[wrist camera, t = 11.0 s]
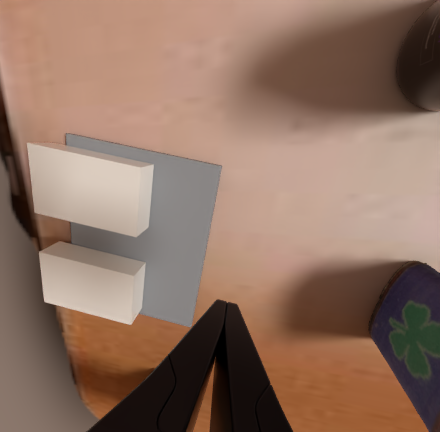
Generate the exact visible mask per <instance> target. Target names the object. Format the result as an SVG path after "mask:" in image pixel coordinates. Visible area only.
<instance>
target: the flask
mask: <svg viewBox="0 0 440 432" xmlns="http://www.w3.org/2000/svg"><path fill="white" fill-rule="evenodd" d="M369 333H370V335H371V337H372V339H373V341H374V342H375V344H376V345H377V347H378V349H379V350H380V352H381V353H382V355H383V357H384V358H385V360H386V361H387V363H388V364H389V366H390V368H391V369H392V371H393V373H394V374H395V376H396V378H397V379H398V381H399V383H400V384H401V386H402V388H403V389H404V391H405V392H406V394H407V395H408V397H409V399H410V400H411V402H412V404H413V405H414V407H415V409H416V411H417V412H418V414H419V415H420V417H421V419H422V420H423V422H424V423H425V425H426V427H427V429H428V431H429V432H440V273H439V272H437V271H436V270H435V269H433V268H432V267H431V266H429V265H427V263H422V262H419V261H410V262H408V263H407V264H405V265H403V266H402V267H401V268H400V269H399V270H398V271H397V272H396V274H394V276H393V278H392V279H391V280H390V281H389V282H388V284H387V286H385V288H384V290H383V292H382V294H381V295H380V300H379V301H378V303H377V305H376V308H375V310H374V313H373V315H372V317H371V320H370V322H369Z"/></svg>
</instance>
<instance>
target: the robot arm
mask: <svg viewBox="0 0 440 432" xmlns="http://www.w3.org/2000/svg"><path fill="white" fill-rule="evenodd" d="M215 357H216V358H215ZM214 361H215V367H214V379H213V393H212V406H211V420H210V432H293V430H292V428H291V426H290V424H289V422H288V420H287V419H286V417H285V414H284V412H283V410H282V408H281V406H280V403H279V401H278V399H277V397H276V394H275V392H274V390H273V387H272V385H270V380H269V378H268V376H267V373H266V371H265V369H264V366H263V364H262V361H261V359H260V357H259V354H258V352H257V350H256V347H255V345H254V343H253V340H252V338H251V336H250V333H249V331H248V328H247V326H246V324H245V321H244V319H243V317H242V314H241V312H240V310H239V307H238V305H237V304H235V303H231V302H228V303H227V302H226V301H223V300H219V299H218V300H216V301H215V302H214V303H213V305H212V306H211V307H210V308H209V309H208V310H207V311H206V312H205V314H204V315H203V316H202V317H201V318H200V319H199V320H198V321H197V323H196V324H195V325H194V326H193V327H192V328H191V329H190V330H189V332H188V333H187V334H186V335H185V336H184V337H183V338H182V340H181V341H180V342H179V343H178V344H177V345H176V346H175V347H174V349H173V350H172V351H171V352H170V353H169V354H168V356H166V357H165V359H164V360H163V361H162V362H161V363H160V364H159V365H158V366H157V367H156V368H155V370H154V371H153V372H152V373H151V374H150V375H149V376H148V377H147V378H146V379H145V380H144V381H143V382H142V383H140V384H139V385H138V386H137V387H136V388H135V389H134V390H133V391H132V392H131V393H130V394H129V395H127V396H126V397H125V398H124V399H123V400H122V401H121V402H120V403H118V404H117V405H116V406H115V407H114V408H113V409H112V410H111V411H109V412H108V413H107V414H106V415H105V416H104V417H103V418H102V419H101V420H99V421H98V422H97V423H96V424H95V425H94V426H93V427H91V429H89V430H88V431H87V432H193V429H194V426H195V423H196V420H197V417H198V413H199V410H200V407H201V404H202V400H203V397H204V394H205V391H206V388H207V384H208V381H209V378H210V375H211V372H212V368H213V365H214Z"/></svg>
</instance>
